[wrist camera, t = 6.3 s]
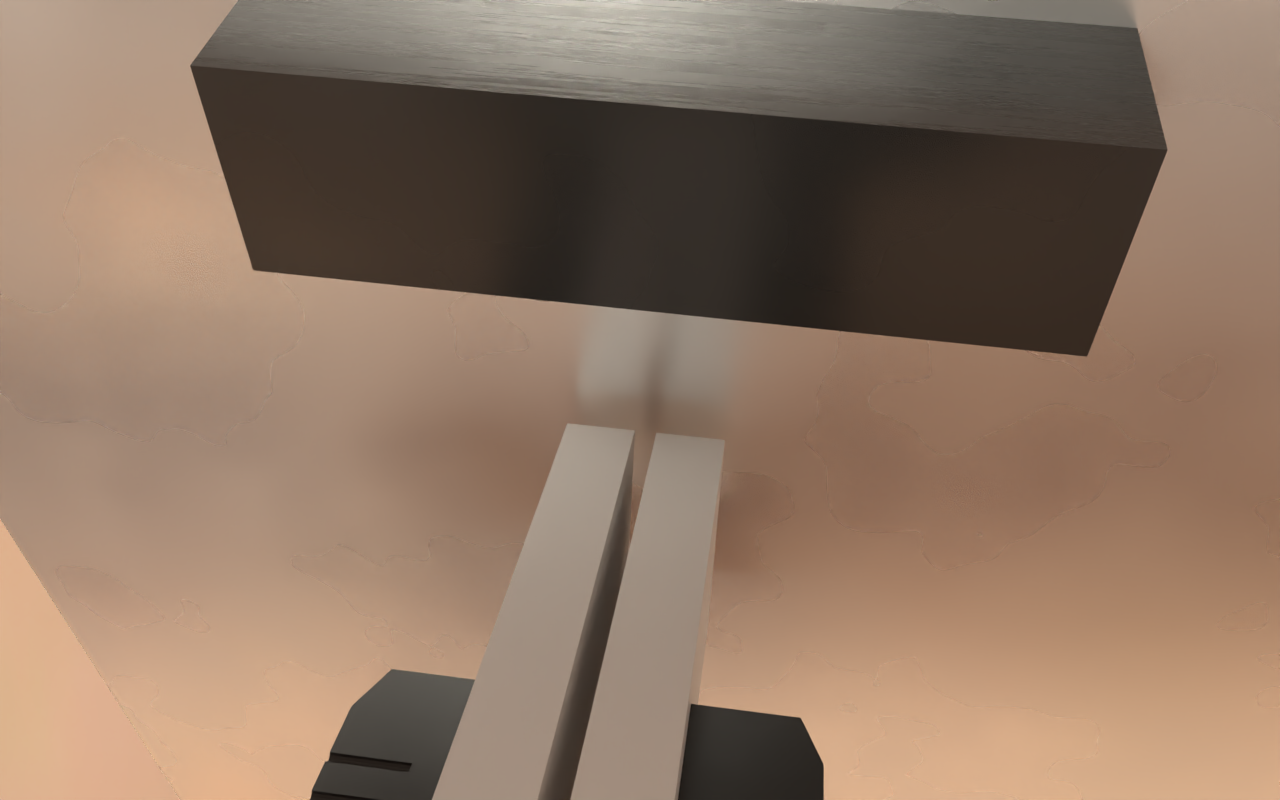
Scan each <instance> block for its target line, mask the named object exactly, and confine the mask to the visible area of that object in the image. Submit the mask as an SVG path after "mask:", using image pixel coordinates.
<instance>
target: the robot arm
mask: <svg viewBox="0 0 1280 800" xmlns="http://www.w3.org/2000/svg"><path fill="white" fill-rule="evenodd" d="M634 438H635V430H625V429H616V428H607V427H597V426H588V425H578V424H569V423H567V426H566V429H565V431H564V434H563V437H562V440H561V443H560V445H559V448H558V451H557V454H556V456H555V459H554V462H553V465H552V468H551V470H550V473H549V476H548V479H547V481H546V484H545V487H544V490H543V493H542V495H541V498H540V501H539V504H538V506H537V509H536V512H535V515H534V517H533V520H532V523H531V526H530V529H529V531H528V534H527V537H526V540H525V542H524V545H523V548H522V551H521V554H520V556H519V559H518V562H517V565H516V567H515V570H514V573H513V576H512V579H511V581H510V584H509V587H508V590H507V592H506V595H505V598H504V601H503V604H502V606H501V609H500V612H499V615H498V617H497V620H496V623H495V626H494V629H493V631H492V634H491V637H490V640H489V642H488V645H487V648H486V651H485V654H484V656H483V659H482V662H481V665H480V667H479V670H478V673H477V676H476V679H475V680H474V679H467V678H459V677H451V676H443V675H435V674H427V673H420V672H412V671H404V670H396V669H391V670H390V671H389V672H388V673H387V674H386V675H385V676H384V677H383V678H382V679H380V680H379V681H378V682H377V683H376V684H375V685H374V686H373V687H372V688H371V689H370V690H368V691H367V692H366V693H365V694H364V695H363V696H362V697H361V698H360V699H359V700H357V701H356V702H355V703H354V704H353V705H352V706H351V708H350V710H349V712H348V714H347V717H346V719H345V721H344V723H343V725H342V727H341V729H340V731H339V733H338V736H337V738H336V740H335V742H334V744H333V746H332V748H331V750H330V756H329V760H328V761H325V763H324V765H323V767H322V769H321V771H320V774H319V776H318V778H317V780H316V782H315V784H314V786H313V788H312V794H311V798H310V800H824V764H823V762H822V760H821V758H820V756H819V754H818V752H817V750H816V748H815V746H814V744H813V742H812V739H811V737H810V735H809V733H808V731H807V729H806V727H805V725H804V723H803V721H802V719H801V718H799V717H791V716H783V715H776V714H768V713H760V712H752V711H744V710H736V709H729V708H721V707H713V706H705V705H698V700H699V692H700V684H701V676H702V669H703V661H704V653H705V646H706V638H707V630H708V619H709V608H710V597H711V587H712V576H713V565H714V554H715V543H716V532H717V521H718V510H719V499H720V488H721V477H722V466H723V455H724V444H725V440H720V439H710V438H701V437H692V436H682V435H673V434H664V433H656V437H655V441H654V446H653V450H652V454H651V458H650V463H649V467H648V471H647V475H646V480H645V484H644V488H643V492H642V497H641V501H640V505H639V509H638V514H637V518H636V522H635V527H634V531H633V535H632V539H631V544H630V524H631V502H632V481H633V459H634ZM629 546H630V548H629Z"/></svg>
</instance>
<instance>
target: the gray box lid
mask: <svg viewBox="0 0 1280 800" xmlns="http://www.w3.org/2000/svg"><path fill="white" fill-rule="evenodd" d="M567 423H569V424H578V425H588V426H597V427H607V428H616V429H625V430H635V438H634V459H633V481H632V502H631V524H630V544H631V539H632V535H633V531H634V527H635V522H636V518H637V514H638V509H639V505H640V501H641V497H642V492H643V488H644V484H645V480H646V475H647V471H648V467H649V463H650V458H651V454H652V450H653V446H654V441H655V437H656V433H664V434H673V435H682V436H692V437H701V438H710V439H720V440H725V444H724V455H723V466H722V477H721V488H720V499H719V510H718V521H717V532H716V543H715V554H714V565H713V576H712V587H711V597H710V608H709V619H708V630H707V638H706V646H705V653H704V661H703V669H702V676H701V684H700V692H699V700H698V705H705V706H713V707H721V708H729V709H736V710H744V711H752V712H760V713H768V714H776V715H783V716H791V717H799V718H801V719H802V721H803V723H804V725H805V727H806V729H807V731H808V733H809V735H810V737H811V739H812V742H813V744H814V746H815V748H816V750H817V752H818V754H819V756H820V758H821V760H822V762H823V764H824V800H1280V0H0V519H1V521H2V522H3V524H4V526H5V527H6V529H7V530H8V532H9V533H10V535H11V536H12V538H13V540H14V541H15V543H16V544H17V546H18V547H19V549H20V551H21V552H22V554H23V555H24V557H25V558H26V560H27V561H28V563H29V565H30V566H31V568H32V569H33V571H34V572H35V574H36V576H37V577H38V579H39V580H40V582H41V583H42V585H43V586H44V588H45V590H46V591H47V593H48V594H49V596H50V597H51V599H52V601H53V602H54V604H55V605H56V607H57V608H58V610H59V611H60V613H61V615H62V616H63V618H64V619H65V621H66V622H67V624H68V626H69V627H70V629H71V630H72V632H73V633H74V635H75V636H76V638H77V640H78V641H79V643H80V644H81V646H82V647H83V649H84V651H85V652H86V654H87V655H88V657H89V658H90V660H91V661H92V663H93V665H94V666H95V668H96V669H97V671H98V672H99V674H100V676H101V677H102V679H103V680H104V682H105V683H106V685H107V686H108V688H109V690H110V691H111V693H112V694H113V696H114V697H115V699H116V701H117V702H118V704H119V705H120V707H121V708H122V710H123V711H124V713H125V715H126V716H127V718H128V719H129V721H130V722H131V724H132V726H133V727H134V729H135V730H136V732H137V733H138V735H139V736H140V738H141V740H142V741H143V743H144V744H145V746H146V747H147V749H148V751H149V752H150V754H151V755H152V757H153V758H154V760H155V761H156V763H157V765H158V766H159V768H160V769H161V771H162V772H163V774H164V776H165V777H166V779H167V780H168V782H169V783H170V785H171V787H172V788H173V790H174V791H175V793H176V794H177V796H178V797H179V799H180V800H310V798H311V794H312V788H313V786H314V784H315V782H316V780H317V778H318V776H319V774H320V771H321V769H322V767H323V765H324V763H325V761H328V760H329V756H330V750H331V748H332V746H333V744H334V742H335V740H336V738H337V736H338V733H339V731H340V729H341V727H342V725H343V723H344V721H345V719H346V717H347V714H348V712H349V710H350V708H351V706H352V705H353V704H354V703H355V702H356V701H357V700H359V699H360V698H361V697H362V696H363V695H364V694H365V693H366V692H367V691H368V690H370V689H371V688H372V687H373V686H374V685H375V684H376V683H377V682H378V681H379V680H380V679H382V678H383V677H384V676H385V675H386V674H387V673H388V672H389V671H390V670H391V669H396V670H404V671H412V672H420V673H427V674H435V675H443V676H451V677H459V678H467V679H474V680H475V679H476V676H477V673H478V670H479V667H480V665H481V662H482V659H483V656H484V654H485V651H486V648H487V645H488V642H489V640H490V637H491V634H492V631H493V629H494V626H495V623H496V620H497V617H498V615H499V612H500V609H501V606H502V604H503V601H504V598H505V595H506V592H507V590H508V587H509V584H510V581H511V579H512V576H513V573H514V570H515V567H516V565H517V562H518V559H519V556H520V554H521V551H522V548H523V545H524V542H525V540H526V537H527V534H528V531H529V529H530V526H531V523H532V520H533V517H534V515H535V512H536V509H537V506H538V504H539V501H540V498H541V495H542V493H543V490H544V487H545V484H546V481H547V479H548V476H549V473H550V470H551V468H552V465H553V462H554V459H555V456H556V454H557V451H558V448H559V445H560V443H561V440H562V437H563V434H564V431H565V429H566V426H567ZM629 548H630V546H629Z"/></svg>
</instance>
